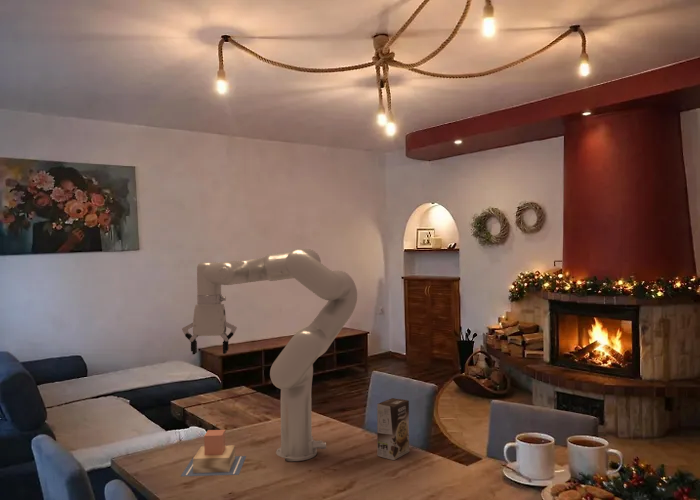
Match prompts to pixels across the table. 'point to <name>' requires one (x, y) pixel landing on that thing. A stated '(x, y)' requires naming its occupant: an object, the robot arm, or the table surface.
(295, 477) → the table surface
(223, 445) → the terracotta block
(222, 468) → the maple base block
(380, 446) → the snack box
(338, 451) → the table surface
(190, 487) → the table surface
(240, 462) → the board
